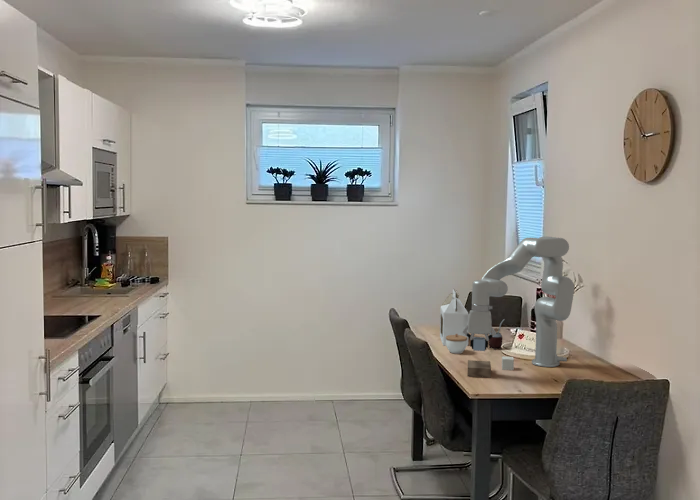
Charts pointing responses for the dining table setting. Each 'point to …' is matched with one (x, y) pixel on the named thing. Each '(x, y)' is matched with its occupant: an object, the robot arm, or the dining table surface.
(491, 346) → the mate gourd
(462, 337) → the lidded jar
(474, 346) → the slate blue block
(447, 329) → the gable box
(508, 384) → the dining table surface
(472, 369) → the walnut base block
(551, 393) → the dining table surface
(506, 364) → the cream block
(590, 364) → the dining table surface
